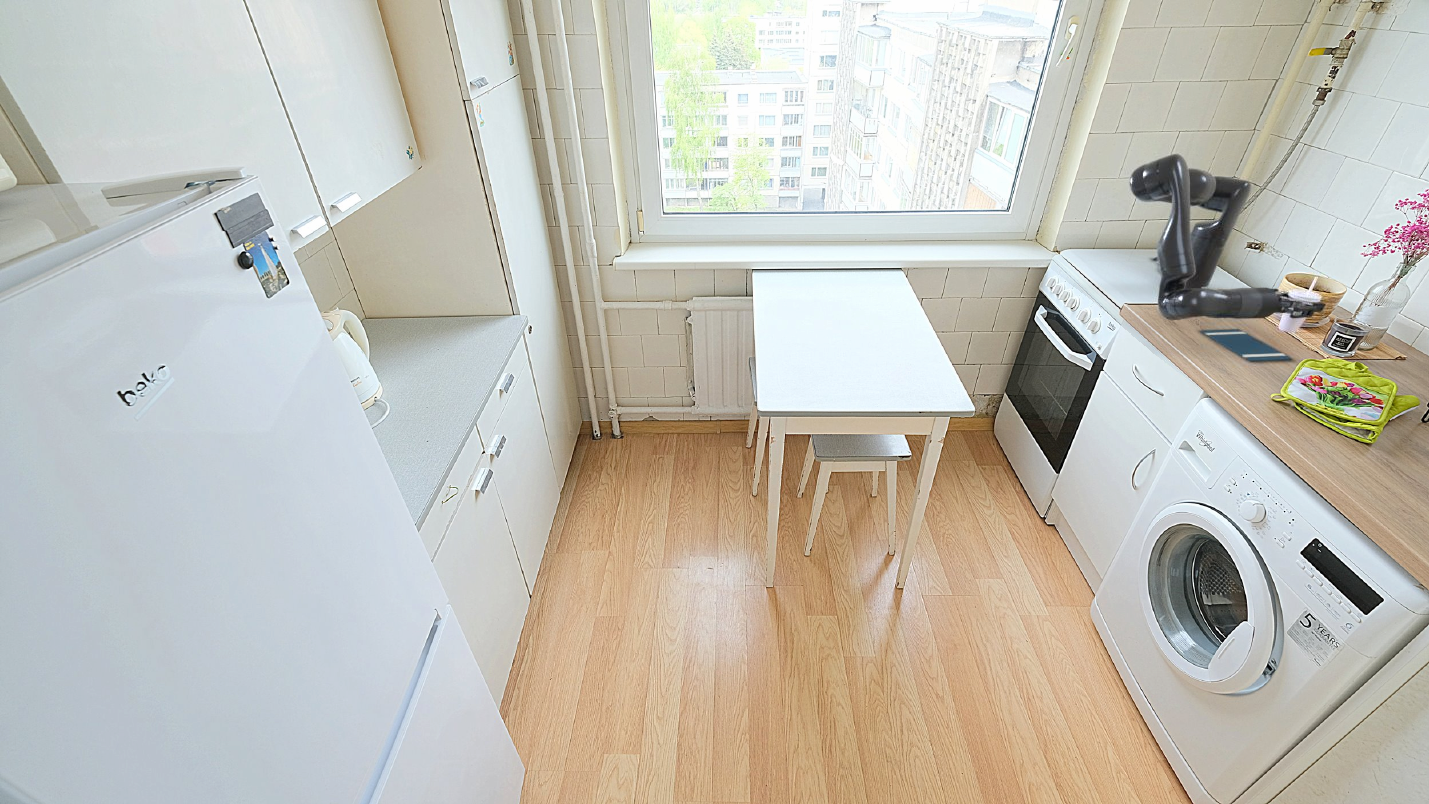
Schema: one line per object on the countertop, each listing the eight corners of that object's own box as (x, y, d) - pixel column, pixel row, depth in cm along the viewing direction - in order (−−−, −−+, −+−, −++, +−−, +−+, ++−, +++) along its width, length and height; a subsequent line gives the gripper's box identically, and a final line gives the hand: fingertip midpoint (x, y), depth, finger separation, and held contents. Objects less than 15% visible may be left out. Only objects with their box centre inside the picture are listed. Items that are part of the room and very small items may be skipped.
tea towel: (1200, 331, 170) (1201, 330, 169) (1237, 330, 170) (1238, 329, 170) (1250, 361, 155) (1251, 360, 155) (1291, 359, 156) (1292, 358, 155)
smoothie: (1308, 336, 158) (1337, 282, 151) (1279, 333, 159) (1307, 280, 152) (1294, 325, 163) (1321, 273, 156) (1266, 323, 165) (1291, 271, 157)
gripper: (1278, 300, 148) (1345, 298, 149) (1231, 278, 161) (1294, 277, 162) (1263, 329, 152) (1329, 328, 153) (1219, 306, 165) (1280, 304, 166)
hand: (1310, 302), depth 158 cm, fingers closed on smoothie, 6 cm apart
